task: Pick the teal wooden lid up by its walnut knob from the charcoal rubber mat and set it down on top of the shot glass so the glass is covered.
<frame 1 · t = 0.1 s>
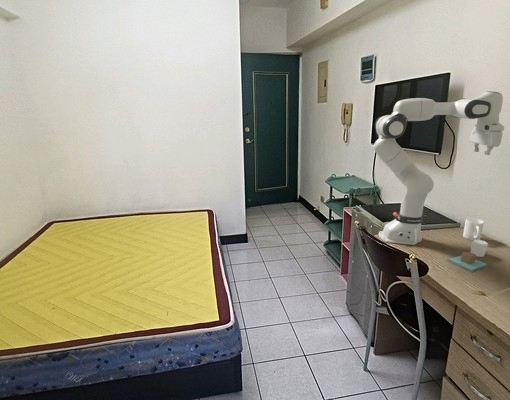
hand: (481, 153, 166), 48 cm above the table, tool pointing down, fingers open, 8 cm apart
shot glass: (477, 255, 162), on the table
lid: (467, 263, 153), resting on mat
mat: (467, 263, 154), on the table
mug: (472, 239, 180), on the table
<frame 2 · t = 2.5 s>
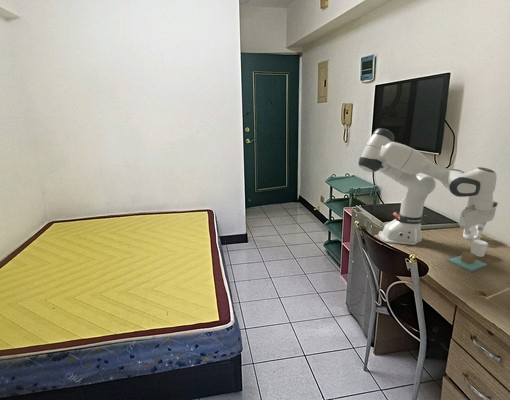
hand: (473, 232, 149), 16 cm above the table, tool pointing down, fingers open, 8 cm apart
nothing on the table moved.
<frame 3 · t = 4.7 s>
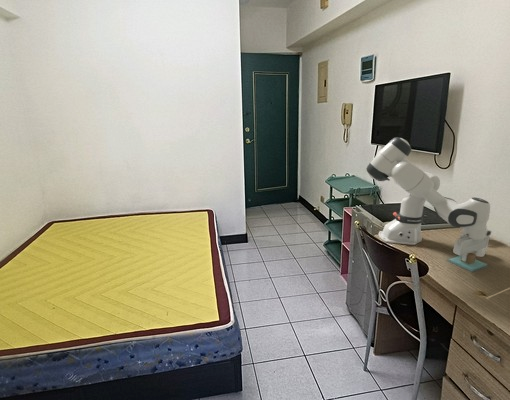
hand: (468, 259, 153), 2 cm above the table, tool pointing down, fingers closed on lid, 4 cm apart
lid: (467, 263, 153), resting on mat, touching gripper
everything else where it was.
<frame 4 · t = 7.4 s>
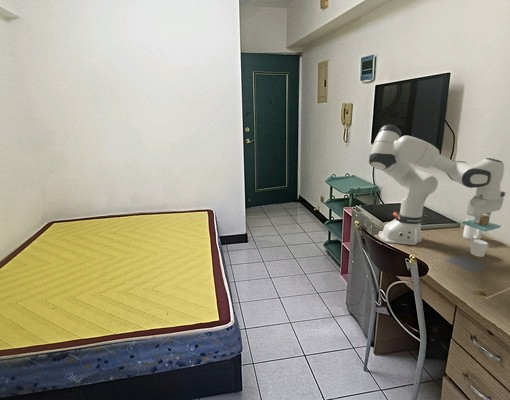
hand: (481, 221, 153), 19 cm above the table, tool pointing down, fingers closed on lid, 4 cm apart
lid: (480, 225, 154), point 17 cm above the table, touching gripper
everything else where it was.
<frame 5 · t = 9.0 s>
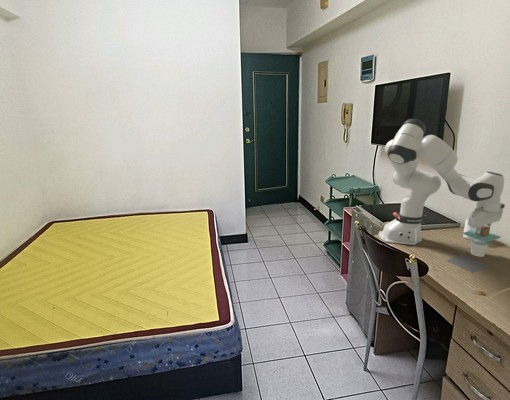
hand: (482, 232, 158), 12 cm above the table, tool pointing down, fingers closed on lid, 4 cm apart
lid: (481, 236, 159), point 10 cm above the table, touching gripper
everything else where it was.
when the fingers open (11 cm above the table, at t = 10.1 s): lid drops 2 cm, resting on shot glass.
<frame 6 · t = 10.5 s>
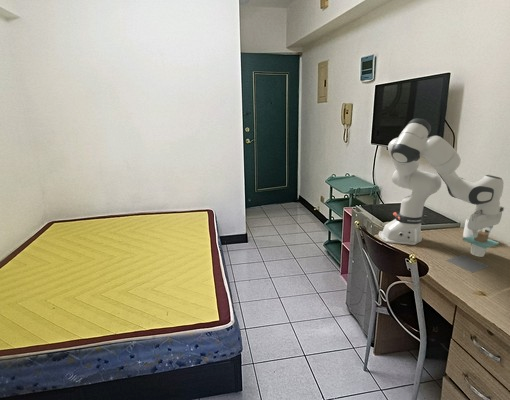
hand: (481, 235, 159), 11 cm above the table, tool pointing down, fingers open, 8 cm apart
shot glass: (477, 255, 162), on the table, touching lid
lid: (480, 242, 160), point 7 cm above the table, touching shot glass
everything else where it was.
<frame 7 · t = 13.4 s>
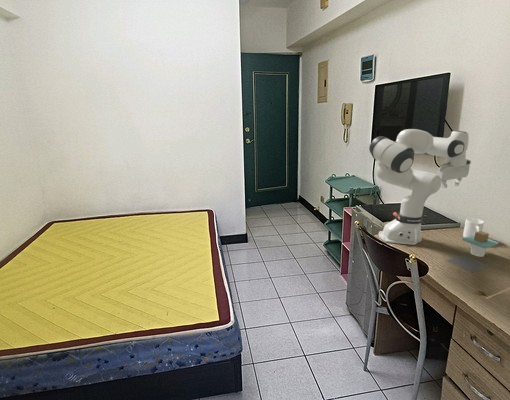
hand: (450, 186, 177), 29 cm above the table, tool pointing down, fingers open, 8 cm apart
nothing on the table moved.
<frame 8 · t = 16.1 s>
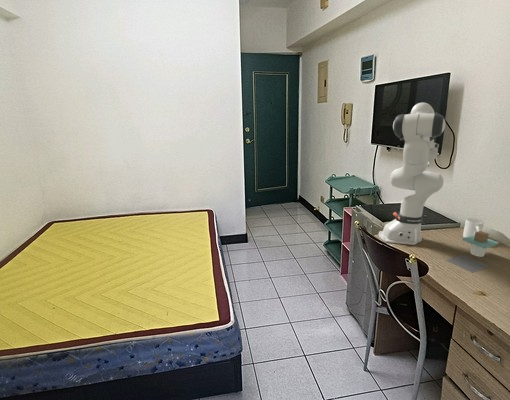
hand: (421, 167, 199), 34 cm above the table, tool pointing down, fingers open, 8 cm apart
nothing on the table moved.
at the end: lid 0.1 cm off-centre on the shot glass, point 7.2 cm above the shot glass's base; lid tilted 0°; shot glass tilted 0° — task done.
